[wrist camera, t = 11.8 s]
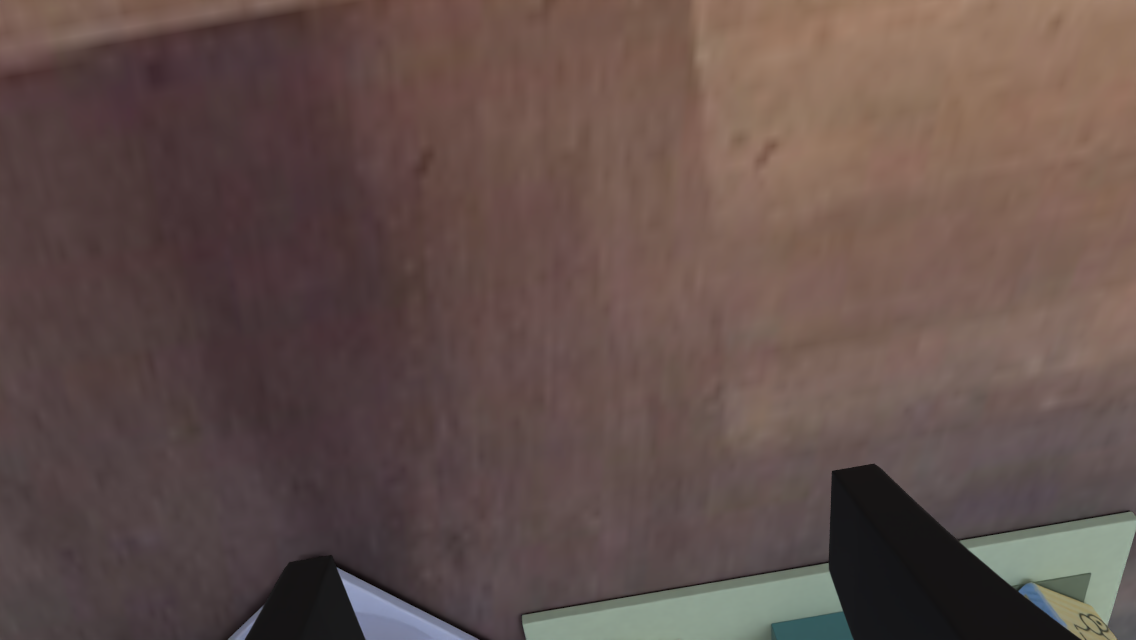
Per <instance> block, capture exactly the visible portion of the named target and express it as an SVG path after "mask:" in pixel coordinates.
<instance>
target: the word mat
mask: <svg viewBox="0 0 1136 640" xmlns="http://www.w3.org/2000/svg"><path fill="white" fill-rule="evenodd" d="M1135 531H1136V516H1135V515H1134V514H1133V512H1125V513H1119V514H1113V515H1108V516H1102V517H1096V518H1090V519H1084V520H1078V521H1072V522H1066V523H1061V524H1055V525H1049V526H1043V527H1037V528H1031V529H1025V530H1019V531H1014V532H1008V533H1002V534H996V535H990V536H984V537H978V538H972V539H967V540H961V541H959V542H960V543H961V544H963V545H964V546H965V547H966V548H967V549H968V550H969V551H971V552H972V553H973V554H974V555H975V556H977V557H978V558H979V559H980V560H981V561H982V562H984V563H985V564H986V565H987V566H988V567H989V568H991V569H992V570H993V571H994V572H995V573H996V574H998V575H999V576H1000V577H1001V578H1002V579H1004V580H1005V581H1006V582H1007V583H1009V584H1010V585H1011V586H1012V587H1013V588H1015V589H1016V590H1017V591H1019V590H1020V589H1021V588H1022V587H1023V586H1024V585H1025V584H1027V583H1030V582H1032V583H1035V584H1037V585H1039V586H1042V587H1044V588H1047V589H1049V590H1052V591H1054V592H1057V593H1059V594H1062V595H1065V596H1067V597H1070V598H1072V599H1075V600H1078V601H1080V602H1083V603H1085V604H1088V605H1090V606H1092V607H1093V608H1094V610H1095V611H1096V612H1097V614H1098V615H1099V616H1100V618H1101V619H1102V620H1103V622H1104V623H1105V624H1106V625H1107V626H1108V622H1109V619H1110V616H1111V612H1112V609H1113V605H1114V602H1115V599H1116V595H1117V592H1118V588H1119V585H1120V582H1121V578H1122V575H1123V571H1124V568H1125V565H1126V561H1127V558H1128V555H1129V551H1130V548H1131V544H1132V541H1133V538H1134V534H1135ZM837 612H843V610H842V607H841V604H840V601H839V598H838V595H837V592H836V589H835V586H834V583H833V580H832V578H831V575H830V572H829V563H825V564H820V565H814V566H808V567H802V568H796V569H790V570H784V571H778V572H773V573H767V574H761V575H755V576H749V577H743V578H737V579H731V580H726V581H720V582H714V583H708V584H702V585H696V586H690V587H684V588H679V589H673V590H667V591H661V592H655V593H649V594H643V595H637V596H632V597H626V598H620V599H614V600H608V601H602V602H596V603H590V604H584V605H579V606H573V607H567V608H561V609H555V610H549V611H543V612H537V613H532V614H526V615H522V625H523V629H524V633H525V637H526V640H771V624H772V623H778V622H784V621H790V620H796V619H802V618H808V617H813V616H819V615H825V614H831V613H837Z"/></svg>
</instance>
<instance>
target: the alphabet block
mask: <svg viewBox="0 0 1136 640" xmlns="http://www.w3.org/2000/svg"><path fill="white" fill-rule="evenodd" d="M1018 592H1020V593H1021V594H1022V595H1023V596H1025V597H1026V598H1027V599H1028V600H1030V601H1031V602H1032V603H1034V604H1035V605H1036V606H1038V607H1039V608H1040V609H1041V610H1043V611H1044V612H1045V613H1047V614H1048V615H1049V616H1050V617H1052V618H1053V619H1054V620H1056V621H1057V622H1058V623H1060V624H1061V625H1062V626H1064V627H1065V628H1066V629H1068V630H1069V631H1071V632H1072V633H1073V634H1075V635H1076V636H1077V637H1079V638H1080V639H1082V640H1117V639H1116V637H1115V636H1114V635H1113V633H1112V632H1111V631H1110V630H1109V628H1108V627H1107V625H1106V624H1105V623H1104V622H1103V620H1102V619H1101V618H1100V616H1099V615H1098V614H1097V612H1096V611H1095V610H1094V608H1093V607H1092V606H1090V605H1088V604H1085V603H1083V602H1080V601H1078V600H1075V599H1072V598H1070V597H1067V596H1065V595H1062V594H1059V593H1057V592H1054V591H1052V590H1049V589H1047V588H1044V587H1042V586H1039V585H1037V584H1035V583H1032V582H1030V583H1027V584H1025V585H1024V586H1023V587H1022V588H1021V589H1020V590H1019V591H1018Z"/></svg>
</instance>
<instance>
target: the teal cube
mask: <svg viewBox="0 0 1136 640" xmlns="http://www.w3.org/2000/svg"><path fill="white" fill-rule="evenodd" d="M771 640H854V639H853V637H852V635H851V632H850V629H849V626H848V623H847V621H846V618H845V615H844V612H837V613H831V614H825V615H819V616H813V617H808V618H802V619H796V620H790V621H784V622H778V623H772V624H771Z"/></svg>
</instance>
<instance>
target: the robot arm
mask: <svg viewBox="0 0 1136 640" xmlns="http://www.w3.org/2000/svg"><path fill="white" fill-rule="evenodd" d="M829 572H830V575H831V578H832V580H833V583H834V586H835V589H836V592H837V595H838V598H839V601H840V604H841V607H842V610H843V612H844V615H845V618H846V621H847V623H848V626H849V629H850V632H851V635H852V637H853V639H854V640H1082V639H1080V638H1079V637H1077V636H1076V635H1075V634H1073V633H1072V632H1071V631H1069V630H1068V629H1066V628H1065V627H1064V626H1062V625H1061V624H1060V623H1058V622H1057V621H1056V620H1054V619H1053V618H1052V617H1050V616H1049V615H1048V614H1047V613H1045V612H1044V611H1043V610H1041V609H1040V608H1039V607H1038V606H1036V605H1035V604H1034V603H1032V602H1031V601H1030V600H1028V599H1027V598H1026V597H1025V596H1023V595H1022V594H1021V593H1020V592H1018V591H1017V590H1016V589H1015V588H1013V587H1012V586H1011V585H1010V584H1009V583H1007V582H1006V581H1005V580H1004V579H1002V578H1001V577H1000V576H999V575H998V574H996V573H995V572H994V571H993V570H992V569H991V568H989V567H988V566H987V565H986V564H985V563H984V562H982V561H981V560H980V559H979V558H978V557H977V556H975V555H974V554H973V553H972V552H971V551H969V550H968V549H967V548H966V547H965V546H964V545H963V544H961V543H960V542H959V541H958V540H957V539H956V538H955V537H953V536H952V535H951V534H950V533H949V532H948V531H947V530H946V529H945V528H944V527H942V526H941V525H940V524H939V523H938V522H937V521H936V520H935V519H934V518H933V517H931V516H930V515H929V514H928V513H927V512H926V511H925V510H924V509H923V508H922V507H921V506H920V505H919V504H918V503H916V502H915V501H914V500H913V499H912V498H911V497H910V496H909V495H908V494H907V493H906V492H905V491H904V490H903V489H902V488H901V487H900V486H899V485H898V484H897V483H895V482H894V481H893V480H892V479H891V478H890V477H889V476H888V475H887V474H886V473H885V472H884V471H883V470H882V469H881V468H879V467H878V466H877V465H875V464H870V465H864V466H858V467H852V468H846V469H840V470H834V471H832V486H831V515H830V544H829ZM228 640H479V639H477V638H475V637H473V636H471V635H469V634H467V633H465V632H463V631H461V630H459V629H458V628H456V627H454V626H452V625H450V624H448V623H446V622H444V621H442V620H440V619H438V618H436V617H434V616H432V615H430V614H428V613H426V612H424V611H422V610H420V609H418V608H416V607H414V606H412V605H410V604H408V603H406V602H404V601H402V600H400V599H398V598H396V597H394V596H392V595H390V594H388V593H386V592H384V591H383V590H381V589H379V588H377V587H375V586H373V585H371V584H369V583H367V582H365V581H363V580H361V579H359V578H357V577H355V576H353V575H351V574H349V573H347V572H345V571H343V570H341V569H339V568H337V567H336V565H335V562H334V560H333V557H332V555H330V556H324V557H318V558H312V559H306V560H300V561H294V562H289V563H288V565H287V566H286V567H285V568H284V570H283V572H282V574H281V575H280V577H279V579H278V581H277V583H276V584H275V586H274V588H273V590H272V592H271V593H270V595H269V597H268V599H267V601H266V603H265V604H264V605H263V606H262V607H261V608H260V609H259V610H258V611H257V612H256V613H255V614H254V615H253V616H252V617H251V618H250V619H249V620H247V621H246V622H245V623H244V624H243V625H242V626H241V627H240V628H239V629H238V630H237V631H236V632H235V633H234V634H233V635H232V636H231V637H230V638H229V639H228Z"/></svg>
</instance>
